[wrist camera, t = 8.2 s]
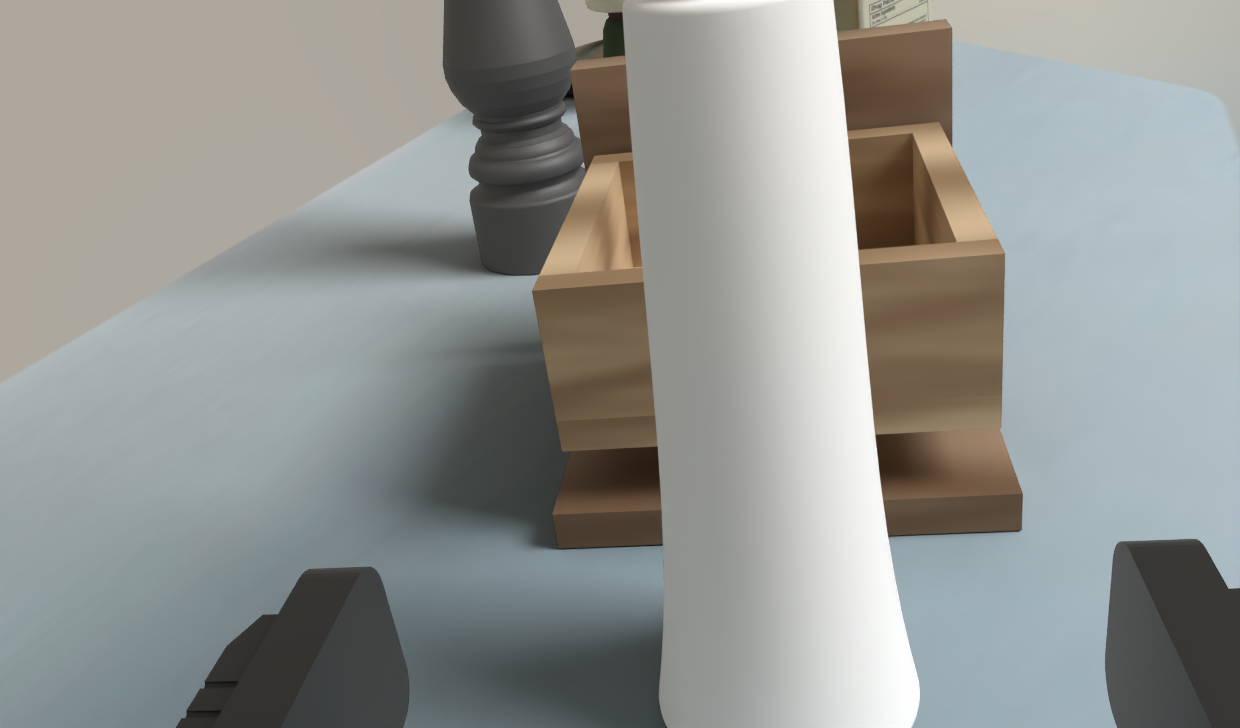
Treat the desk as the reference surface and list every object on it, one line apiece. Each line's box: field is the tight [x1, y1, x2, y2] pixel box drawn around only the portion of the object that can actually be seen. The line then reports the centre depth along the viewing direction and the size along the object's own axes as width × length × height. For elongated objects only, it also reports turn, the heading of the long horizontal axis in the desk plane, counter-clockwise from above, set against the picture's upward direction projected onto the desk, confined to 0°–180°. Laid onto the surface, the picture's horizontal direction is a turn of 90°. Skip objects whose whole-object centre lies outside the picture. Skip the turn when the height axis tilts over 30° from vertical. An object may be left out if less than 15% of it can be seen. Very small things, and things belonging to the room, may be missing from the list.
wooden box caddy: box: [532, 19, 1023, 548], centre depth 35 cm, size 14×13×11 cm
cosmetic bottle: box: [622, 0, 920, 728], centre depth 21 cm, size 6×6×22 cm
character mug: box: [585, 0, 625, 58], centre depth 77 cm, size 11×7×13 cm, turn 159°
